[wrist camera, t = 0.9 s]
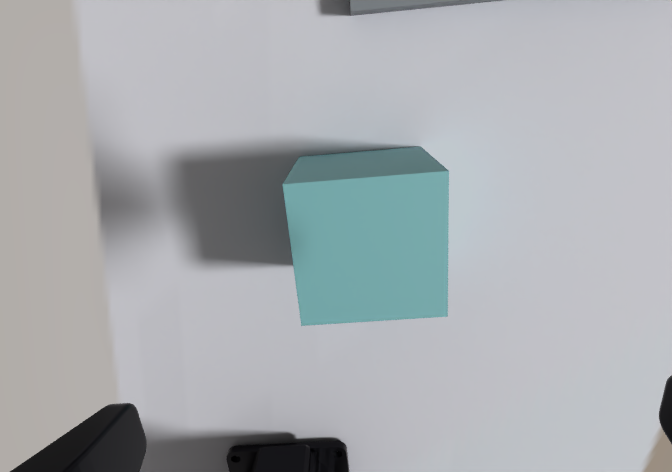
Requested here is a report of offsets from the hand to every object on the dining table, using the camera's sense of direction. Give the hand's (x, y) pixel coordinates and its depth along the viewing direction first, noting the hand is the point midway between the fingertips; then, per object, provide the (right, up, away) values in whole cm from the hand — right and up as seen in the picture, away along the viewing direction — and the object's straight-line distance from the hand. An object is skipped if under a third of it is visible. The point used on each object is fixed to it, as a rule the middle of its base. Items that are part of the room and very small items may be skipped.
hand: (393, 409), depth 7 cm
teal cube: (0, +4, +11) cm, 12 cm away
